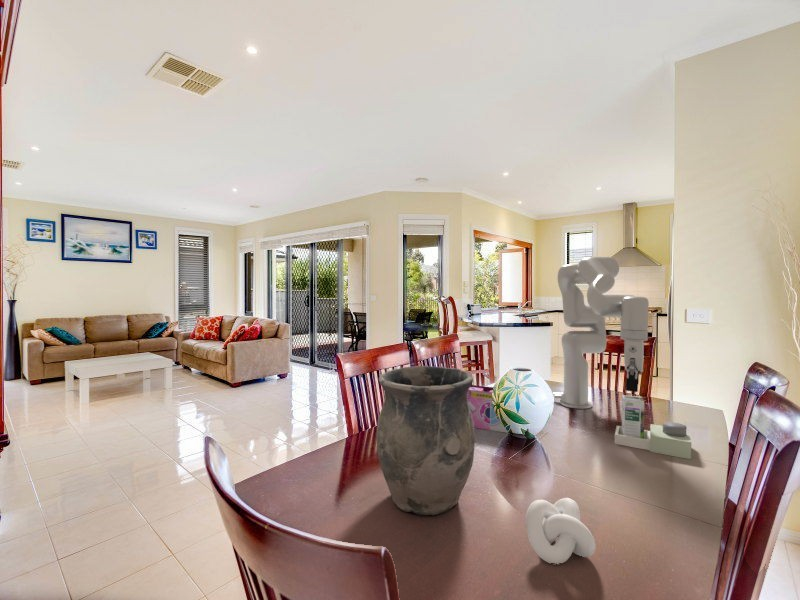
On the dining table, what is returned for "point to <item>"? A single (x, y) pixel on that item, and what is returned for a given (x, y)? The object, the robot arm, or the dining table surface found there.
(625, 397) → the syrup box
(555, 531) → the white knot sculpture
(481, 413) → the pink product box
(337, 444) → the dining table surface
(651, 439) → the knob block with frame
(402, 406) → the clay pot
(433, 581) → the dining table surface
